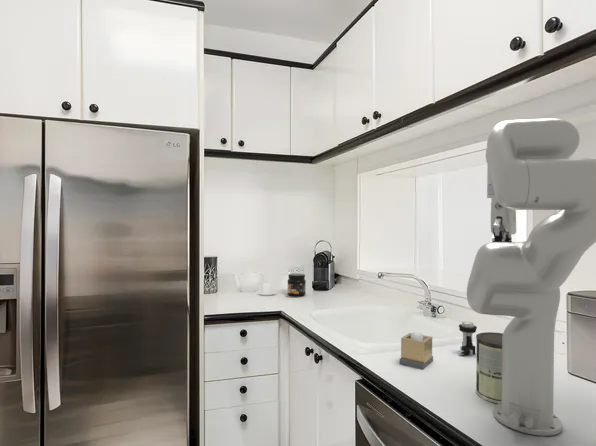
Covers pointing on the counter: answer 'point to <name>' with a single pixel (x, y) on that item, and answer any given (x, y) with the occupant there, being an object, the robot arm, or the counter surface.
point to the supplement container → (296, 285)
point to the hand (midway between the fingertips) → (502, 256)
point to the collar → (416, 348)
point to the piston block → (413, 363)
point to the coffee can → (489, 366)
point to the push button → (467, 338)
